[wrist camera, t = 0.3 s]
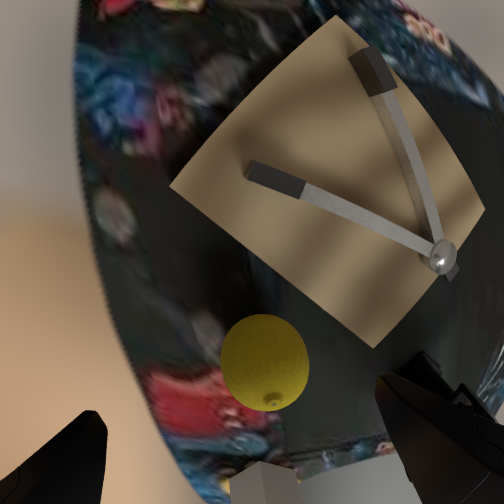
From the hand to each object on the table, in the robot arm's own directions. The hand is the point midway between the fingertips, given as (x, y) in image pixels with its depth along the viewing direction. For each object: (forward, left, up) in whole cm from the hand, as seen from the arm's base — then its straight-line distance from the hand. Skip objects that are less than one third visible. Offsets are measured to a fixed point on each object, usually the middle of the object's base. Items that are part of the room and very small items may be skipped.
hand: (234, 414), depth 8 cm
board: (-4, -10, -13) cm, 17 cm away
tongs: (-5, -11, -12) cm, 17 cm away
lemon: (-5, +2, -13) cm, 14 cm away
